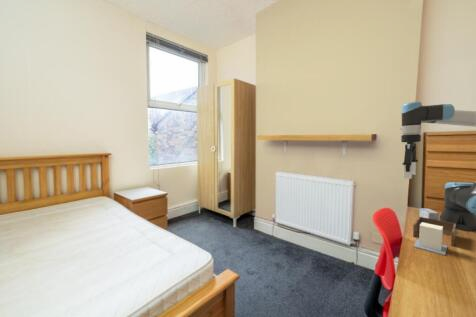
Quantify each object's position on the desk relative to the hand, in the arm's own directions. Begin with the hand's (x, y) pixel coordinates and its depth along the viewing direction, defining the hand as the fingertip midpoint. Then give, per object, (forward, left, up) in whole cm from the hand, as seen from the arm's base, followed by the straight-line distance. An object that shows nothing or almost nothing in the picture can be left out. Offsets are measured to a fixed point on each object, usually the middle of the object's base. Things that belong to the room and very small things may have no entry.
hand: (410, 176), depth 107 cm
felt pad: (+6, +16, -28) cm, 33 cm away
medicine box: (-14, -2, -29) cm, 32 cm away
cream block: (+6, +16, -28) cm, 33 cm away
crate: (-6, +8, -28) cm, 30 cm away
